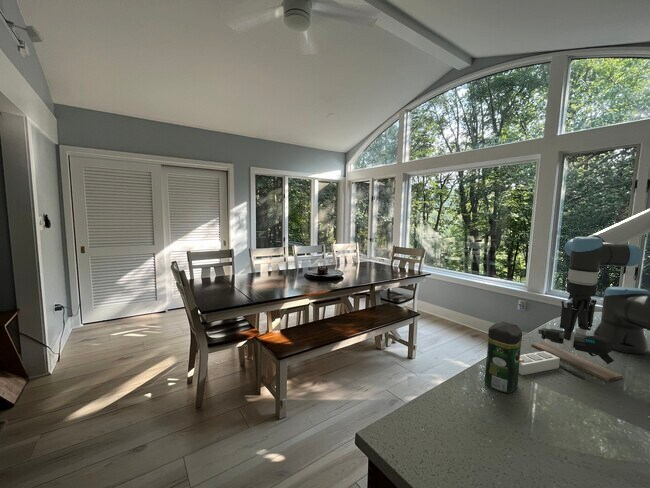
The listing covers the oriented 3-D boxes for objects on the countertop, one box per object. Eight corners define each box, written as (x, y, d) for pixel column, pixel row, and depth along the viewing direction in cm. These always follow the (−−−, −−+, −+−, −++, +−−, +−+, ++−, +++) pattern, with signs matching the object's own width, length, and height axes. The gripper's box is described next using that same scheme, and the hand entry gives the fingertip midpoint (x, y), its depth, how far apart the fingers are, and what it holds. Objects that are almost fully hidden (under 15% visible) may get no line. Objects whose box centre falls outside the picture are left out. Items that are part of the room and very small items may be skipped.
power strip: (547, 359, 101) (549, 348, 100) (587, 378, 90) (588, 366, 89) (508, 366, 96) (509, 355, 95) (544, 388, 84) (545, 375, 84)
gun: (611, 365, 89) (601, 332, 91) (543, 357, 107) (536, 329, 109) (619, 362, 91) (609, 330, 93) (551, 355, 109) (544, 327, 111)
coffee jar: (491, 372, 92) (496, 317, 90) (520, 384, 86) (526, 325, 84) (479, 384, 86) (484, 325, 84) (510, 398, 80) (516, 334, 78)
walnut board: (544, 343, 113) (545, 341, 113) (621, 377, 90) (622, 375, 90) (531, 345, 111) (531, 343, 111) (606, 381, 88) (607, 378, 88)
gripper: (587, 278, 104) (579, 340, 106) (551, 281, 99) (543, 345, 101) (613, 283, 96) (603, 349, 99) (575, 286, 91) (566, 356, 94)
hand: (573, 347), depth 100 cm, fingers closed on gun, 5 cm apart
